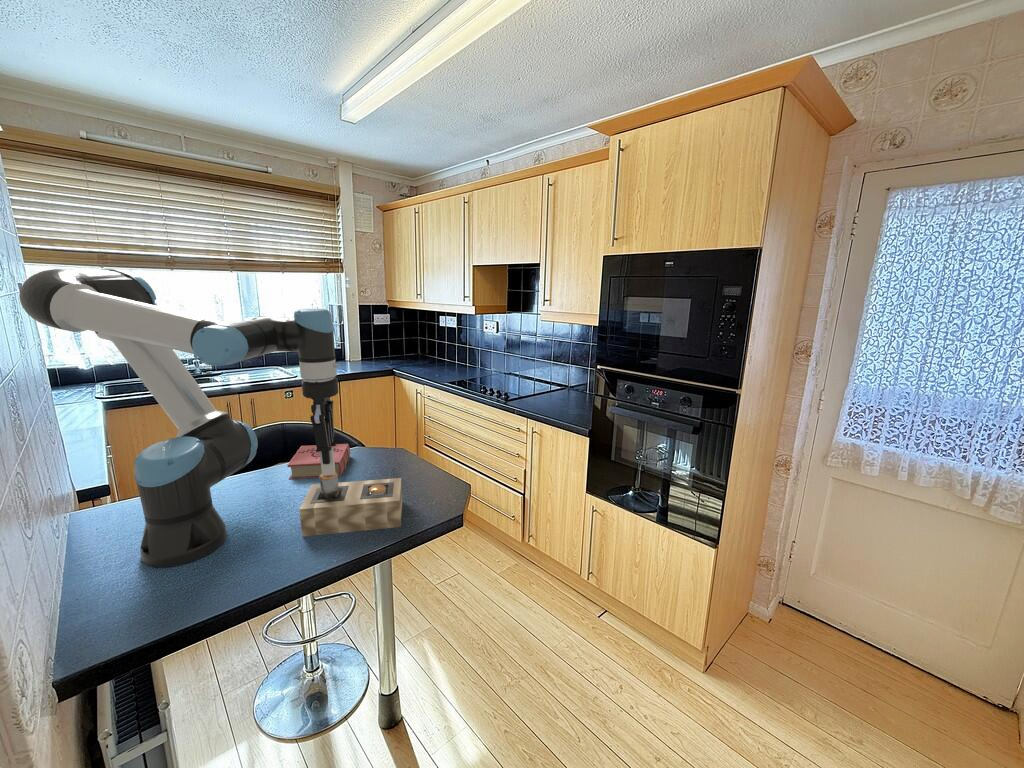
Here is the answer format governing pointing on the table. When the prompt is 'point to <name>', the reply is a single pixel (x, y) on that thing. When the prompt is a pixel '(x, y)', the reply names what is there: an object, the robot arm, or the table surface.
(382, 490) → the peg right
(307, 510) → the block
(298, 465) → the book
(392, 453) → the table surface
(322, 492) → the peg left
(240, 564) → the table surface
